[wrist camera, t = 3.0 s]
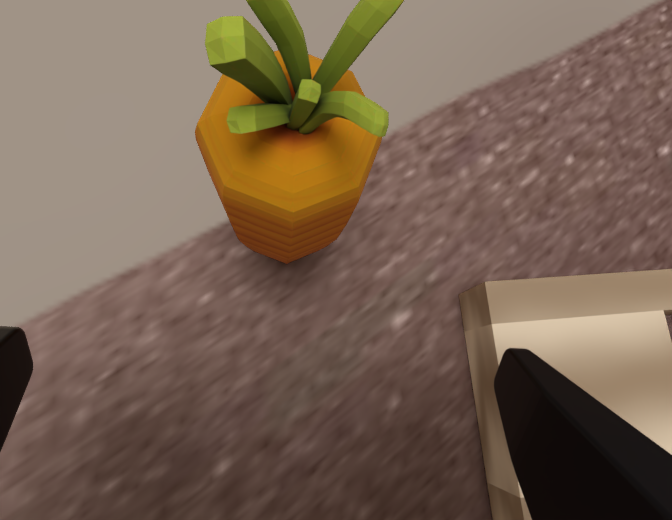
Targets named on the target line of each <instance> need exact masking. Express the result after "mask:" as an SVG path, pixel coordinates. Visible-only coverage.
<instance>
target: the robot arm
mask: <svg viewBox="0 0 672 520" xmlns="http://www.w3.org/2000/svg"><path fill="white" fill-rule="evenodd" d="M32 371H33V360H32V356H31V353H30V349H29V346H28V342H27V339H26V335H25V332H24V331H23V330H22V329H21V328H19V327H7V326H0V451H1V449H2V447H3V444H4V442H5V440H6V437H7V435H8V432H9V430H10V427H11V425H12V422H13V420H14V417H15V415H16V412H17V410H18V407H19V405H20V402H21V400H22V397H23V395H24V392H25V390H26V387H27V385H28V382H29V380H30V377H31V375H32ZM494 391H495V396H496V400H497V404H498V408H499V412H500V417H501V421H502V425H503V429H504V433H505V438H506V442H507V446H508V450H509V454H510V458H511V461H512V464H513V467H514V470H515V473H516V476H517V479H518V482H519V485H520V487H521V490H522V493H523V496H524V499H525V501H526V504H527V507H528V510H529V513H530V516H531V518H532V520H672V455H671V454H670V453H669V452H667V451H666V450H665V449H663V448H662V447H660V446H659V445H658V444H656V443H655V442H654V441H652V440H651V439H650V438H648V437H647V436H646V435H644V434H643V433H641V432H640V431H639V430H637V429H636V428H635V427H633V426H632V425H631V424H629V423H628V422H627V421H625V420H624V419H622V418H621V417H620V416H618V415H617V414H616V413H614V412H613V411H612V410H610V409H609V408H608V407H606V406H605V405H603V404H602V403H601V402H599V401H598V400H597V399H595V398H594V397H593V396H591V395H590V394H589V393H587V392H586V391H585V390H583V389H582V388H580V387H579V386H578V385H576V384H575V383H574V382H572V381H571V380H570V379H568V378H567V377H566V376H564V375H563V374H561V373H560V372H559V371H557V370H556V369H555V368H553V367H552V366H551V365H549V364H548V363H547V362H545V361H544V360H542V359H541V358H540V357H538V356H537V355H536V354H534V353H533V352H532V351H530V350H528V349H524V348H508V349H506V350H505V352H504V354H503V356H502V359H501V361H500V364H499V367H498V370H497V372H496V375H495V378H494Z"/></svg>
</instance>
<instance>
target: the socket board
mask: <svg viewBox="0 0 672 520" xmlns="http://www.w3.org/2000/svg"><path fill="white" fill-rule="evenodd" d="M459 300H460V307H461V313H462V320H463V327H464V333H465V340H466V346H467V353H468V360H469V366H470V373H471V380H472V386H473V393H474V399H475V406H476V413H477V419H478V426H479V432H480V439H481V446H482V452H483V459H484V465H485V472H486V479H487V485H488V492H489V498H490V505H491V512H492V518H493V520H532V518H531V516H530V513H529V510H528V507H527V504H526V501H525V499H524V496H523V493H522V490H521V487H520V485H519V482H518V479H517V476H516V473H515V470H514V467H513V464H512V461H511V458H510V454H509V450H508V446H507V442H506V438H505V433H504V429H503V425H502V421H501V417H500V412H499V408H498V404H497V400H496V396H495V391H494V378H495V375H496V372H497V370H498V367H499V364H500V361H501V359H502V356H503V354H504V352H505V350H506V349H508V348H524V349H528V350H530V351H532V352H533V353H534V354H536V355H537V356H538V357H540V358H541V359H542V360H544V361H545V362H547V363H548V364H549V365H551V366H552V367H553V368H555V369H556V370H557V371H559V372H560V373H561V374H563V375H564V376H566V377H567V378H568V379H570V380H571V381H572V382H574V383H575V384H576V385H578V386H579V387H580V388H582V389H583V390H585V391H586V392H587V393H589V394H590V395H591V396H593V397H594V398H595V399H597V400H598V401H599V402H601V403H602V404H603V405H605V406H606V407H608V408H609V409H610V410H612V411H613V412H614V413H616V414H617V415H618V416H620V417H621V418H622V419H624V420H625V421H627V422H628V423H629V424H631V425H632V426H633V427H635V428H636V429H637V430H639V431H640V432H641V433H643V434H644V435H646V436H647V437H648V438H650V439H651V440H652V441H654V442H655V443H656V444H658V445H659V446H660V447H662V448H663V449H665V450H666V451H667V452H669V453H670V454H671V455H672V342H671V338H670V334H669V330H668V326H667V322H666V318H665V315H672V269H665V270H650V271H635V272H621V273H606V274H592V275H577V276H563V277H548V278H533V279H519V280H504V281H490V282H483V283H481V284H479V285H477V286H475V287H473V288H471V289H469V290H467V291H465V292H463V293H461V294H459Z"/></svg>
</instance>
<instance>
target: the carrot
mask: <svg viewBox="0 0 672 520" xmlns="http://www.w3.org/2000/svg"><path fill="white" fill-rule="evenodd" d="M246 1H247V2H248V4H249V5H250V7H251V9H252V10H253V11H254V13H255V14H256V16H257V17H258V19H259V20H260V22H261V23H262V25H263V26H264V28H265V29H266V30H267V32H268V33H269V35H270V36H271V37H272V39H273V40H274V42H275V43H276V45H277V48H278V51H275V52H273V50H272V49H271V47H270V46H269V45H268V44H267V42H266V41H265V39H264V38H263V37H262V36H261V34H260V33H259V32H258V31H257V30H256V29H255V28H254V27H253V26H252V25H251V24H250V23H249V22H248V21H247V20H246V19H245V18H244V17H243V16H227V17H221V18H219V19H217V20H215V21H213V22H210V23H208V24H207V29H206V40H205V45H206V50H207V54H208V58H209V63H210V65H211V66H212V67H214V68H215V69H217V70H218V71H219V72H221V73H222V76H221V78H220V80H219V82H218V84H217V86H216V88H215V90H214V92H213V94H212V96H211V98H210V100H209V102H208V104H207V106H206V108H205V110H204V111H203V113H202V116H201V117H200V119H199V121H198V123H197V126H196V130H195V135H196V141H197V143H198V146H199V148H200V151H201V154H202V156H203V159H204V161H205V164H206V166H207V169H208V172H209V173H210V176H211V178H212V181H213V183H214V185H215V188H216V190H217V192H218V195H219V197H220V199H221V202H222V204H223V206H224V209H225V211H226V213H227V216H228V218H229V220H230V223H231V225H232V227H233V229H234V231H235V233H236V235H237V237H238V239H239V240H240V241H241V242H242V243H243V244H244V245H245V246H246V247H248V248H250V249H251V250H253V251H255V252H257V253H260V254H263V255H265V256H268V257H270V258H273V259H275V260H278V261H281V262H283V263H286V264H287V263H290V262H292V261H294V260H297V259H299V258H302V257H304V256H307V255H309V254H311V253H314V252H316V251H318V250H320V249H322V248H324V247H326V246H328V245H329V244H330V243H332V242H333V241H335V240H336V239H337V238H338V236H339V235H340V233H341V232H342V230H343V229H344V227H345V226H346V224H347V222H348V220H349V218H350V217H351V215H352V213H353V211H354V209H355V207H356V205H357V203H358V201H359V199H360V196H361V193H362V191H363V188H364V185H365V183H366V180H367V178H368V175H369V172H370V170H371V167H372V164H373V162H374V159H375V157H376V154H377V151H378V149H379V146H380V143H381V140H382V137H383V136H385V135H386V131H387V128H388V112H387V111H386V110H384V109H383V108H382V107H381V106H379V105H378V104H376V103H375V102H373V101H371V100H370V99H368V98H366V97H365V95H364V94H363V92H362V90H361V88H360V86H359V84H358V82H357V80H356V78H355V76H354V74H353V72H352V71H349V70H348V68H349V67H350V66H351V65H352V63H353V62H354V61H355V60H356V58H357V57H358V56H359V55H360V53H361V52H362V51H363V50H364V49H365V47H366V46H367V45H368V43H369V42H370V41H371V40H372V39H373V37H374V36H375V35H376V34H377V33H378V31H379V30H380V29H381V28H382V27H383V26H384V25H385V24H386V23H387V21H388V20H389V19H390V18H391V17H392V16H393V15H394V14H395V12H396V11H397V9H398V8H399V7H400V5H401V4H402V3H403V1H404V0H360V1H359V3H358V4H357V5H356V7H355V8H354V9H353V11H352V12H351V13H350V15H349V16H348V18H347V19H346V21H345V23H344V25H343V26H342V28H341V30H340V31H339V33H338V35H337V37H336V38H335V40H334V42H333V44H332V46H331V47H330V49H329V50H328V52H327V54H326V56H325V57H324V59H323V60H322V59H319V58H317V57H314V56H312V55H309V54H308V51H307V47H306V43H305V38H304V33H303V30H302V28H301V26H300V24H299V22H298V20H297V18H296V16H295V14H294V12H293V10H292V8H291V6H290V4H289V2H288V1H287V0H246Z"/></svg>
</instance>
